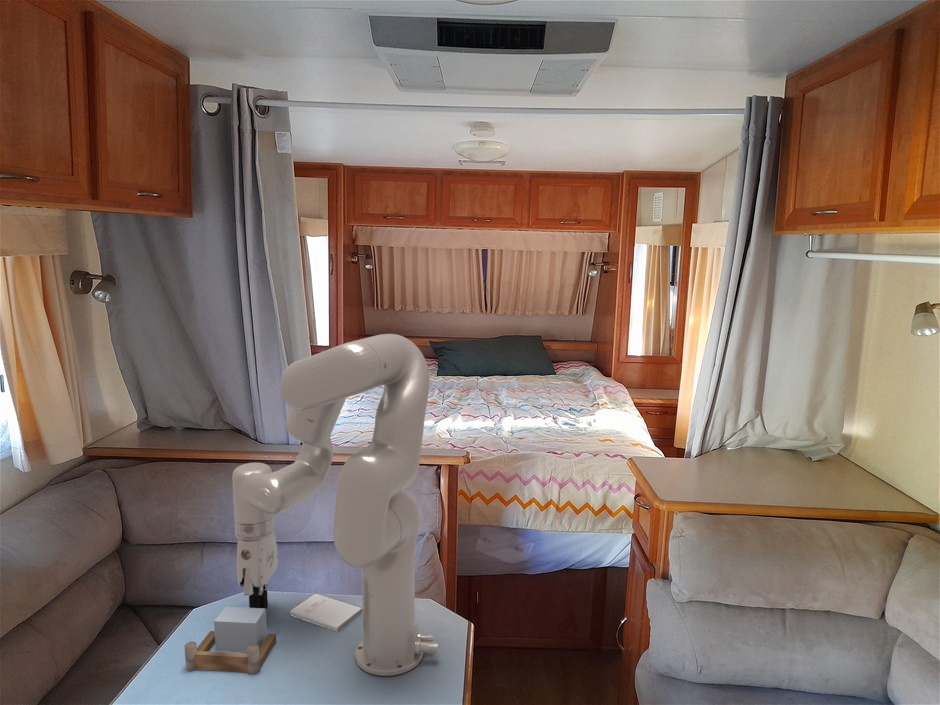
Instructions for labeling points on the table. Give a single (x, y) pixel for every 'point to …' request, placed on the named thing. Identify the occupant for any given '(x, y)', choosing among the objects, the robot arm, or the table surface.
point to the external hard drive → (326, 612)
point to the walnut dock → (226, 656)
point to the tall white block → (240, 628)
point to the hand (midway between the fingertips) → (258, 609)
